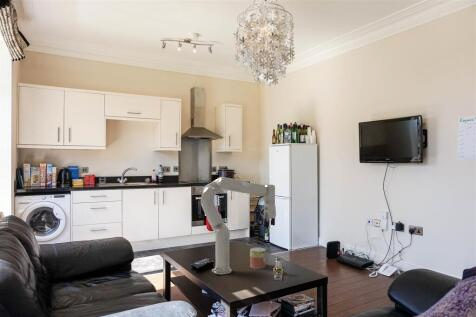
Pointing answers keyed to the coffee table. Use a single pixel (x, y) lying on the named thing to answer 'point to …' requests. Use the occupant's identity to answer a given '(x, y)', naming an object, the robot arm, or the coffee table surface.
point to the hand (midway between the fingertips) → (269, 226)
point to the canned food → (257, 258)
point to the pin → (277, 264)
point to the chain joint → (278, 273)
